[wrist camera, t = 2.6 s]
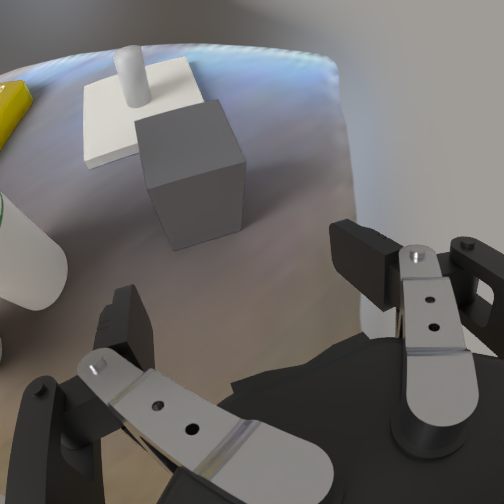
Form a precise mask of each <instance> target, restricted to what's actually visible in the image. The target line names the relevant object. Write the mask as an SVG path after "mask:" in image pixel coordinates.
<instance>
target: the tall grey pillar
mask: <svg viewBox="0 0 504 504" xmlns="http://www.w3.org/2000/svg"><path fill="white" fill-rule="evenodd" d="M134 124H135V130H136V136H137V141H138V147H139V152H140V157H141V162H142V167H143V172H144V177H145V182H146V187H147V191H148V193H149V195H150V198H151V200H152V203H153V205H154V207H155V210H156V212H157V214H158V217H159V219H160V221H161V224H162V226H163V228H164V230H165V233H166V235H167V237H168V240H169V242H170V244H171V246H172V248H173V251H176V250H179V249H183V248H186V247H189V246H192V245H196V244H199V243H202V242H205V241H209V240H212V239H215V238H218V237H222V236H225V235H228V234H232V233H235V232H238V231H241V227H242V212H243V197H244V183H245V169H246V161H245V158H244V156H243V154H242V151H241V149H240V147H239V145H238V142H237V140H236V138H235V136H234V133H233V131H232V129H231V127H230V124H229V122H228V120H227V118H226V116H225V113H224V111H223V109H222V107H221V105H220V102H219V100H218V99H216V100H212V101H207V102H203V103H199V104H194V105H190V106H186V107H182V108H178V109H175V110H171V111H167V112H164V113H160V114H156V115H153V116H150V117H146V118H143V119H140V120H136V121H134Z"/></svg>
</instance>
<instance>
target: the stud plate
mask: <svg viewBox="0 0 504 504" xmlns="http://www.w3.org/2000/svg"><path fill="white" fill-rule="evenodd" d="M113 59H114V63H115V66H116V70H117V73H118V74H117V75H114V76H111V77H108V78H105V79H102V80H100V81H97V82H94V83H91V84H89V85H86V86H84V110H83V136H84V162H85V164H86V165H87V167H88V169H89V170H90V169H92V168H95V167H98V166H101V165H103V164H106V163H109V162H112V161H115V160H118V159H121V158H124V157H127V156H130V155H133V154H136V153H139V147H138V141H137V136H136V130H135V124H134V121H136V120H140V119H143V118H146V117H150V116H153V115H156V114H160V113H164V112H167V111H171V110H175V109H178V108H182V107H186V106H190V105H194V104H199V103H203V102H204V100H203V98H202V95H201V93H200V90H199V88H198V85H197V83H196V81H195V78H194V76H193V73H192V71H191V68H190V66H189V64H188V61H187V59H186V56H184V57H179V58H175V59H171V60H166V61H162V62H159V63H155V64H151V65H147V66H145V65H144V60H143V55H142V51H141V47H140V46H137V45H130V46H126V47H123V48H121V49H119V50H118V51H116V52H115V53H114V55H113Z"/></svg>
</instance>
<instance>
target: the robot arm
mask: <svg viewBox="0 0 504 504" xmlns="http://www.w3.org/2000/svg"><path fill="white" fill-rule="evenodd" d="M329 234H330V243H331V254H332V261H333V265H334V267H335V269H336V271H337V272H338V273H339V274H340V275H342V276H343V277H344V278H345V279H346V280H347V281H349V282H350V283H351V284H352V285H353V286H354V287H355V288H357V289H358V290H359V291H360V292H361V293H362V294H363V295H365V296H366V297H367V298H368V299H369V300H370V301H371V302H373V303H374V304H375V305H376V306H377V307H378V308H379V309H381V310H382V311H383V312H384V311H387V310H389V309H391V308H393V307H396V327H395V330H396V331H395V337H385V338H376V339H371V340H370V339H369V338H368V337H367V336H366V335H365V333H364V332H361V333H359V334H357V335H355V336H352V337H350V338H348V339H346V340H343V341H341V342H339V343H336V344H334V345H332V346H331V347H330V348H328V349H327V350H325V351H324V352H322V353H321V354H319V355H318V356H316V357H315V358H313V359H312V360H310V361H309V362H307V363H306V364H303V365H299V366H294V367H288V368H283V369H277V370H271V371H265V372H262V373H259V374H256V375H254V376H251V377H248V378H245V379H242V380H239V381H236V382H233V383H231V386H232V389H233V392H234V394H232V395H230V396H228V397H227V398H226V399H224V400H223V401H221V402H220V403H219V404H218V405H217V406H216V405H214V404H212V403H210V402H208V401H207V400H205V399H203V398H201V397H199V396H198V395H196V394H194V393H192V392H191V391H189V390H187V389H186V388H184V387H182V386H180V385H179V384H177V383H175V382H174V381H172V380H171V379H169V378H167V377H166V376H164V375H162V374H161V373H159V372H158V371H156V370H155V362H154V344H153V330H152V326H151V322H150V319H149V317H148V315H147V312H146V310H145V308H144V306H143V303H142V301H141V299H140V296H139V294H138V292H137V289H136V287H135V286H134V285H133V284H132V285H129V286H126V287H123V288H119V289H116V290H115V292H114V298H113V303H112V304H110V305H107V306H106V307H105V308H104V310H103V311H102V313H101V314H100V318H99V322H98V323H99V324H98V327H97V332H96V336H95V342H94V347H93V351H91V352H90V353H88V354H87V355H86V356H84V357H83V358H82V360H81V361H80V362H79V364H78V367H77V373H78V375H77V376H75V377H73V378H71V379H69V380H67V381H65V382H63V383H61V384H58V383H57V382H56V380H55V379H54V378H53V377H51V376H41V377H39V378H37V379H35V380H34V381H32V382H31V383H30V384H29V385H28V386H27V387H26V389H25V391H24V393H23V396H22V400H21V404H20V409H19V413H18V418H17V422H16V427H15V432H14V437H13V443H12V449H11V455H10V462H9V469H8V477H7V486H6V498H5V504H105V497H104V487H103V475H102V459H101V438H102V437H104V436H106V435H108V434H110V433H112V432H114V431H116V430H118V429H120V430H121V431H122V432H124V433H125V434H126V435H127V436H128V437H129V438H130V439H131V440H132V441H133V442H134V443H135V444H137V445H138V446H139V447H140V448H141V449H142V450H143V451H145V452H146V453H147V454H148V455H149V456H150V457H152V458H153V459H154V460H155V461H156V462H157V463H158V464H159V465H160V466H162V467H163V468H164V469H165V470H166V471H167V472H168V473H169V474H171V475H172V478H171V479H170V481H169V483H168V485H167V486H166V488H165V490H164V491H163V493H162V495H161V497H160V498H159V500H158V502H157V503H156V504H504V254H502V253H500V252H499V251H497V250H495V249H493V248H492V247H490V246H488V245H486V244H485V243H483V242H481V241H479V240H477V239H474V238H471V237H457V238H454V239H453V240H452V241H451V246H450V252H446V253H440V254H436V253H435V251H434V250H433V249H431V248H429V247H427V246H424V245H409V246H406V247H403V246H402V245H400V244H398V243H396V242H395V241H393V240H391V239H389V238H387V237H386V236H384V235H382V234H380V233H379V232H377V231H375V230H373V229H370V228H366V227H362V226H360V225H358V224H356V223H354V222H353V221H351V220H349V219H345V220H341V221H338V222H335V223H331V224H330V226H329ZM479 279H480V280H482V281H483V282H485V283H486V284H487V285H489V286H490V287H491V288H492V290H493V293H494V301H493V305H491V304H490V303H488V302H487V301H486V300H484V299H483V298H482V297H480V296H479V295H478V294H476V292H477V287H478V281H479ZM461 324H462V325H464V326H465V327H466V328H467V329H468V330H469V331H470V332H471V333H473V334H474V335H475V336H476V337H477V338H478V339H479V340H480V341H482V342H483V343H484V344H485V345H486V346H487V347H488V348H489V349H490V350H492V351H493V352H494V353H495V354H496V355H497V356H498V357H494V356H488V355H482V354H477V353H472V352H471V351H470V350H468V349H467V348H466V345H465V340H464V335H463V330H462V326H461Z"/></svg>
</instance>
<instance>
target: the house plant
mask: <svg viewBox="0 0 504 504" xmlns="http://www.w3.org/2000/svg"><path fill="white" fill-rule="evenodd" d="M1 357H2V343H1V339H0V362H1Z"/></svg>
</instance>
